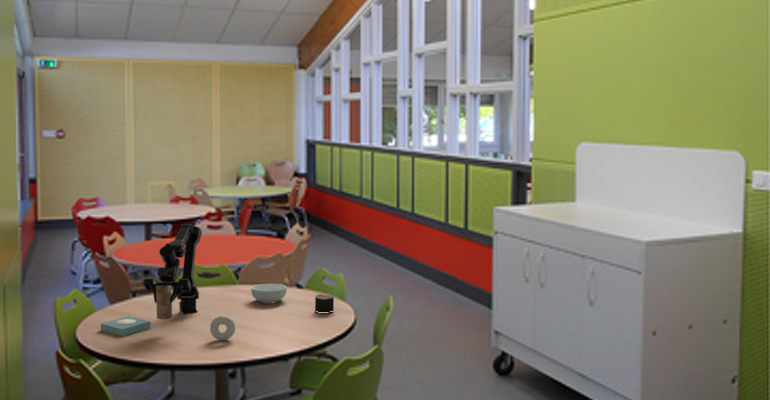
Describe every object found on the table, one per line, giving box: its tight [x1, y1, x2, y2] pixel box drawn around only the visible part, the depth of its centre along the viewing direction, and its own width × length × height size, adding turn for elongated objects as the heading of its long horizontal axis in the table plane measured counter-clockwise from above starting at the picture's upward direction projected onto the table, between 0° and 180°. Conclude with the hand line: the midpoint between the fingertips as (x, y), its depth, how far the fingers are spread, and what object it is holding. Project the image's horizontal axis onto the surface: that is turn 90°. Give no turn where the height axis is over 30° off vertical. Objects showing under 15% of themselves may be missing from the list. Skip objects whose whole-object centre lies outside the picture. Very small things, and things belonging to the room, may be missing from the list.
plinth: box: [100, 315, 152, 337], centre depth 304 cm, size 14×14×3 cm
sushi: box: [314, 292, 335, 312], centre depth 334 cm, size 8×8×8 cm
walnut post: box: [155, 285, 173, 320], centre depth 297 cm, size 6×6×13 cm
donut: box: [209, 315, 236, 341], centre depth 290 cm, size 10×4×10 cm, turn 94°
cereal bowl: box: [250, 283, 287, 304], centre depth 351 cm, size 17×17×7 cm
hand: (162, 302), depth 296 cm, fingers closed on walnut post, 6 cm apart
